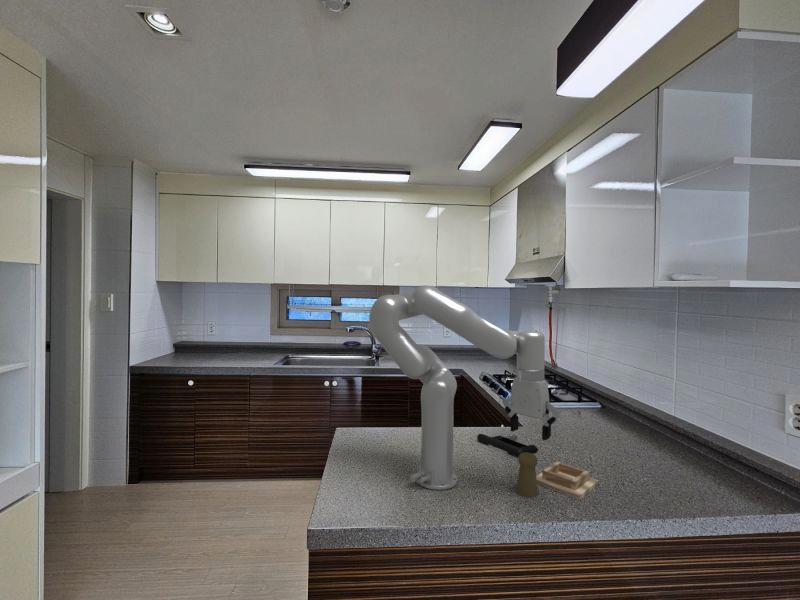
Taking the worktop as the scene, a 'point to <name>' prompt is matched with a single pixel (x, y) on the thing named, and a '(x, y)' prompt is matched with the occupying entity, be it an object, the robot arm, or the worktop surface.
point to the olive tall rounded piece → (527, 475)
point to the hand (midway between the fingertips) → (529, 434)
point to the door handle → (507, 444)
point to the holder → (567, 480)
